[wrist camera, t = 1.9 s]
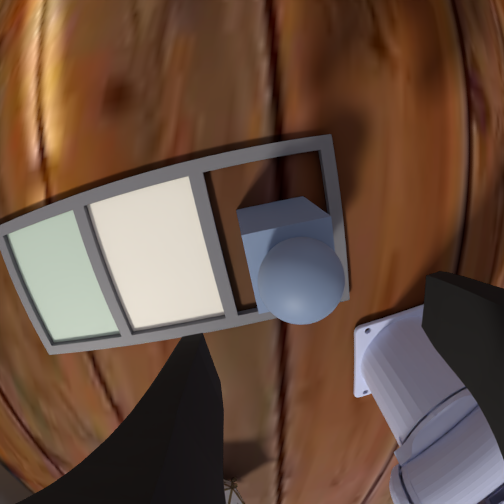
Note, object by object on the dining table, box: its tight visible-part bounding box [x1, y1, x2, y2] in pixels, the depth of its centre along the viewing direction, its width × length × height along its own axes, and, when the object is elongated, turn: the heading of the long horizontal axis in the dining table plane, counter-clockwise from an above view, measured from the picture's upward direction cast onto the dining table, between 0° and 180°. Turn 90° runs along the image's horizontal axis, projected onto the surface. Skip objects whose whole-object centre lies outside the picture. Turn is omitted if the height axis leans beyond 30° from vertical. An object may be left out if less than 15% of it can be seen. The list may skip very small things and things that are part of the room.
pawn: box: [236, 196, 345, 324], centre depth 15 cm, size 4×4×8 cm
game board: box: [0, 134, 350, 355], centre depth 18 cm, size 23×11×1 cm, turn 101°
